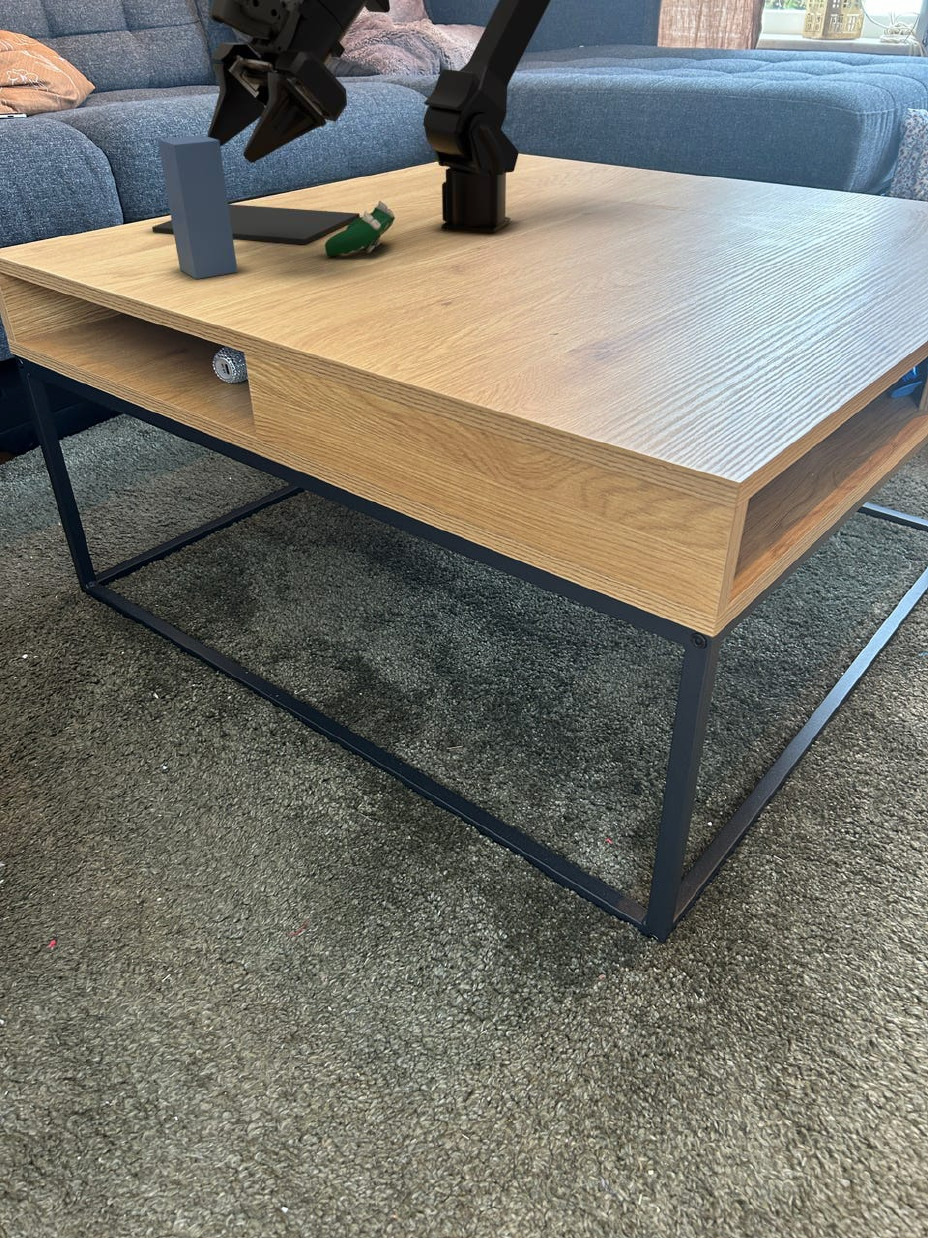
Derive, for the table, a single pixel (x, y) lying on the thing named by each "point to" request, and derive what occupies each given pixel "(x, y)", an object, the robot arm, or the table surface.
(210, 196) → the blue block
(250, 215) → the mat
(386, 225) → the green toy shoe
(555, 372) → the table surface
